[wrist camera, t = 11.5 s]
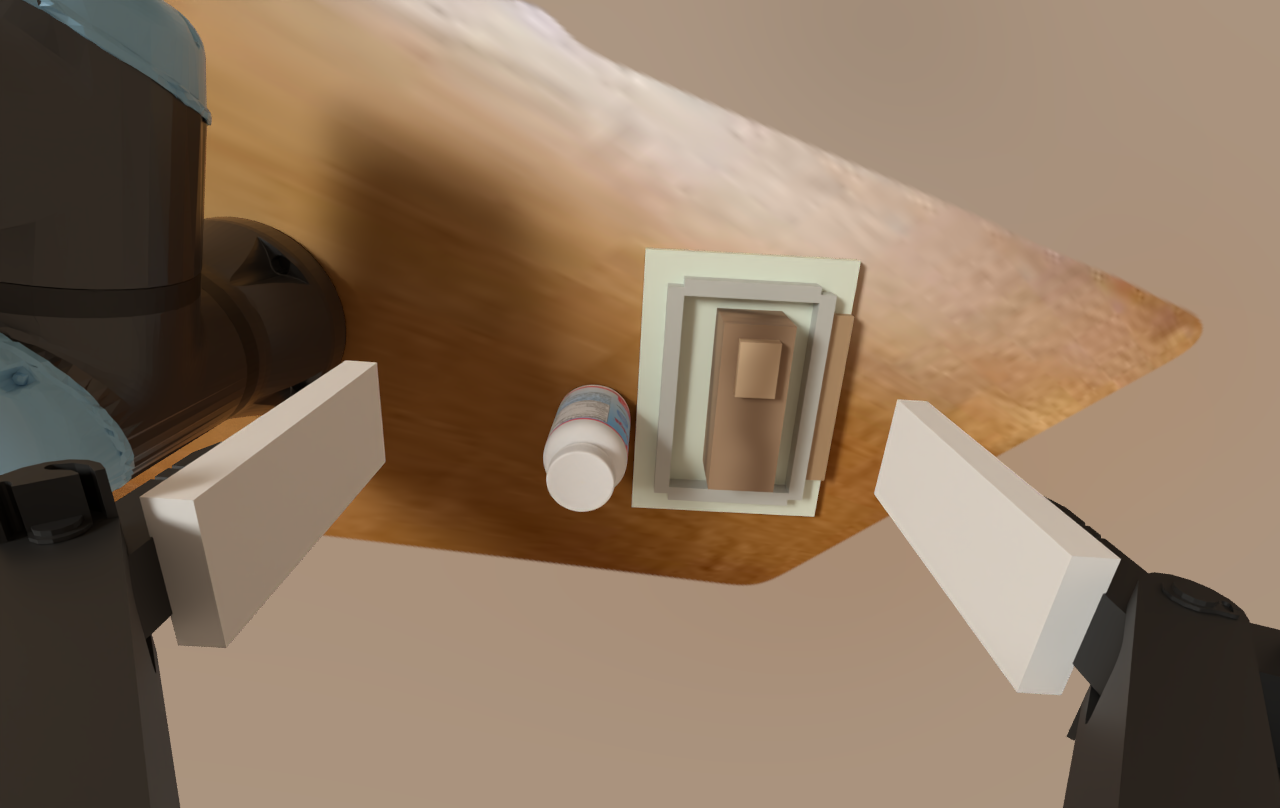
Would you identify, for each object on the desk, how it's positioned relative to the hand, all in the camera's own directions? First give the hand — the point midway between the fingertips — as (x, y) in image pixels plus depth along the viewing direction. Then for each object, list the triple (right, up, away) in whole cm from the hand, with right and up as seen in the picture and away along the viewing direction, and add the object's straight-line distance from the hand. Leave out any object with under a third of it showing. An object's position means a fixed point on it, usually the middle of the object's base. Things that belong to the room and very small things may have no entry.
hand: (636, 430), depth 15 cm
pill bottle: (-4, 0, +35) cm, 36 cm away
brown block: (+8, +2, +33) cm, 34 cm away
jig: (+8, +2, +34) cm, 35 cm away
